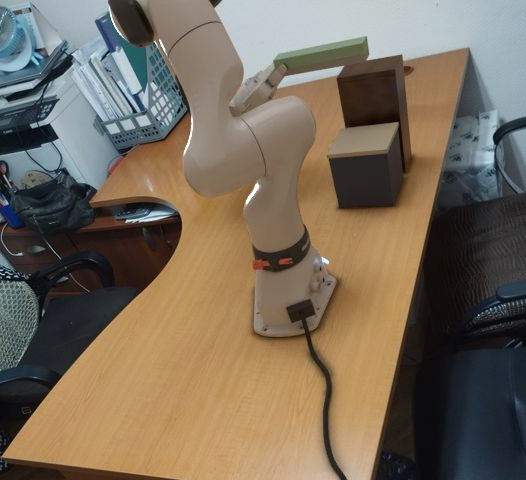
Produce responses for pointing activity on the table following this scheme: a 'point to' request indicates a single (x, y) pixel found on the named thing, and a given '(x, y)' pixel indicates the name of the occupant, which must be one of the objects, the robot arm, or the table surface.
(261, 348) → the table surface
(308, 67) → the green box
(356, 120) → the shelf
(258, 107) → the robot arm
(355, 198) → the archive box
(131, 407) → the table surface
